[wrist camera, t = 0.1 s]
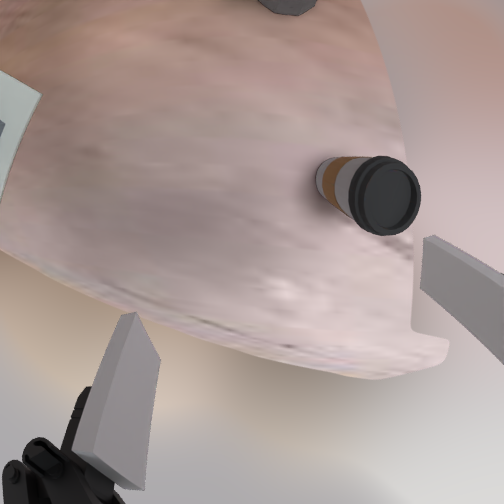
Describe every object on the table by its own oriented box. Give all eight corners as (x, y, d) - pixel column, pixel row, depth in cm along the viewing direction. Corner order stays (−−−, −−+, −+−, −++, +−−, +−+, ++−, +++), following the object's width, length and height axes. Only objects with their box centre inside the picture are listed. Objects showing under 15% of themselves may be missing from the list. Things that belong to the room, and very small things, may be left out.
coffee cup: (367, 164, 38) (433, 178, 24) (347, 214, 40) (406, 250, 26) (319, 141, 36) (376, 142, 22) (299, 196, 38) (345, 225, 24)
